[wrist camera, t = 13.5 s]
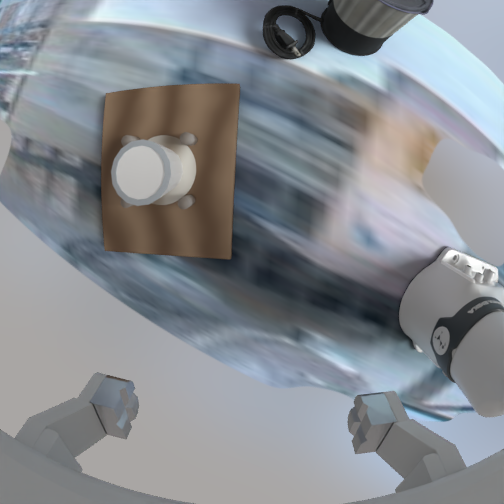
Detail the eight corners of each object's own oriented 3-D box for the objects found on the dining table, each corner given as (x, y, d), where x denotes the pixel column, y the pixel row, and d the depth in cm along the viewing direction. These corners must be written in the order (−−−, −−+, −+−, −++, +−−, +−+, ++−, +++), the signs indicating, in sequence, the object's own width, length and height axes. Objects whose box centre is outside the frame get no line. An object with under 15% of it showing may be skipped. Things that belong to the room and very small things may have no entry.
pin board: (240, 87, 32) (237, 76, 27) (231, 255, 38) (227, 267, 34) (111, 95, 32) (95, 89, 27) (109, 247, 38) (94, 257, 34)
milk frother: (393, 32, 28) (444, -10, 14) (340, 102, 32) (387, 69, 18) (311, -21, 26) (330, -82, 11) (248, 42, 30) (241, -19, 15)
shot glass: (134, 195, 34) (108, 203, 28) (139, 142, 32) (113, 139, 25) (185, 200, 34) (167, 209, 28) (190, 144, 32) (174, 140, 26)
